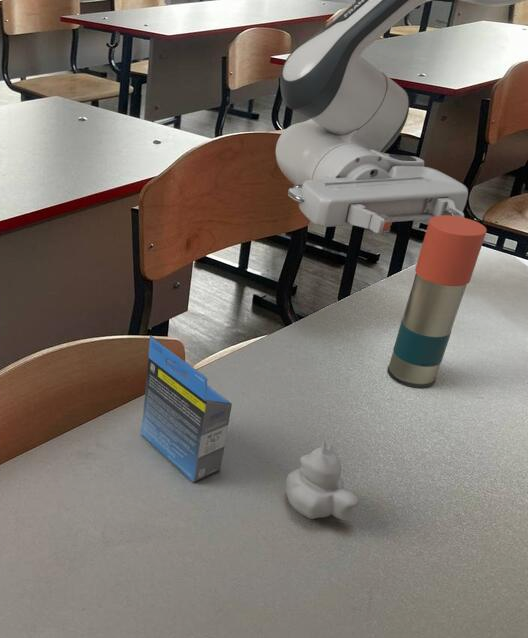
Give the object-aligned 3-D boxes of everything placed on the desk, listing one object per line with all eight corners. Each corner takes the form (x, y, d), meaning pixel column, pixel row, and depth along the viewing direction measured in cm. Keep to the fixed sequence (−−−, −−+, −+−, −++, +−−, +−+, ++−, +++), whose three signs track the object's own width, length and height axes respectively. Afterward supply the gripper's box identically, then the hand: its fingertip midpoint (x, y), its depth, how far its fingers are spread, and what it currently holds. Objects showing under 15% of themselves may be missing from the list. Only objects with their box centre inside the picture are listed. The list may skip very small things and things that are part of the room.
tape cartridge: (223, 471, 75) (241, 367, 69) (192, 484, 74) (208, 379, 67) (167, 423, 82) (179, 324, 76) (138, 434, 80) (148, 334, 74)
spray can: (421, 363, 93) (452, 264, 87) (443, 387, 89) (478, 285, 82) (379, 363, 93) (407, 264, 86) (399, 388, 89) (431, 286, 82)
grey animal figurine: (300, 480, 74) (316, 415, 70) (363, 517, 70) (384, 450, 66) (269, 506, 71) (284, 439, 67) (333, 546, 67) (353, 477, 63)
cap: (453, 263, 87) (468, 214, 84) (480, 286, 82) (497, 235, 79) (405, 264, 87) (419, 215, 84) (430, 286, 82) (446, 235, 79)
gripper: (285, 164, 95) (346, 204, 83) (428, 155, 99) (505, 192, 87) (277, 211, 98) (334, 256, 86) (416, 201, 102) (489, 243, 90)
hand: (422, 224), depth 87 cm, fingers open, 8 cm apart
